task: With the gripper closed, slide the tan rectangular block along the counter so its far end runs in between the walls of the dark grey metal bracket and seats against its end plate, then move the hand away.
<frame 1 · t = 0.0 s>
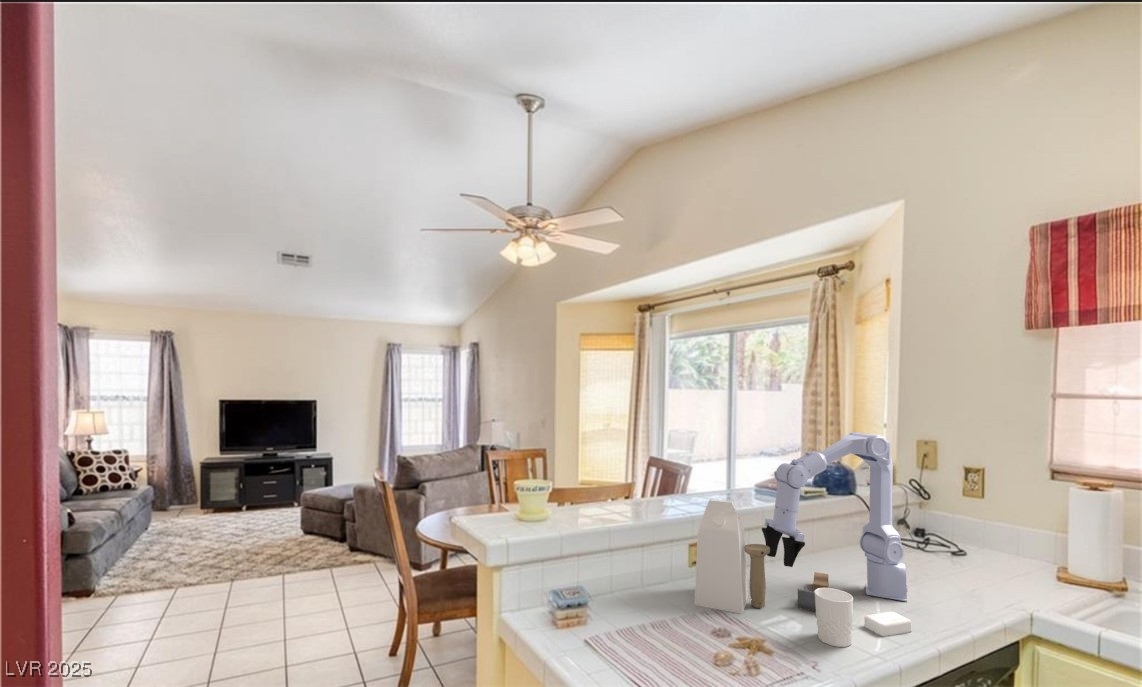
hand: (779, 561, 139), 11 cm above the worktop, tool pointing down, fingers open, 7 cm apart
white cup: (834, 640, 119), on the worktop
handle: (757, 607, 136), on the worktop
bracket: (819, 606, 136), on the worktop
soap: (887, 631, 124), on the worktop
tan rectangular block: (821, 592, 146), on the worktop
milk: (721, 601, 139), on the worktop
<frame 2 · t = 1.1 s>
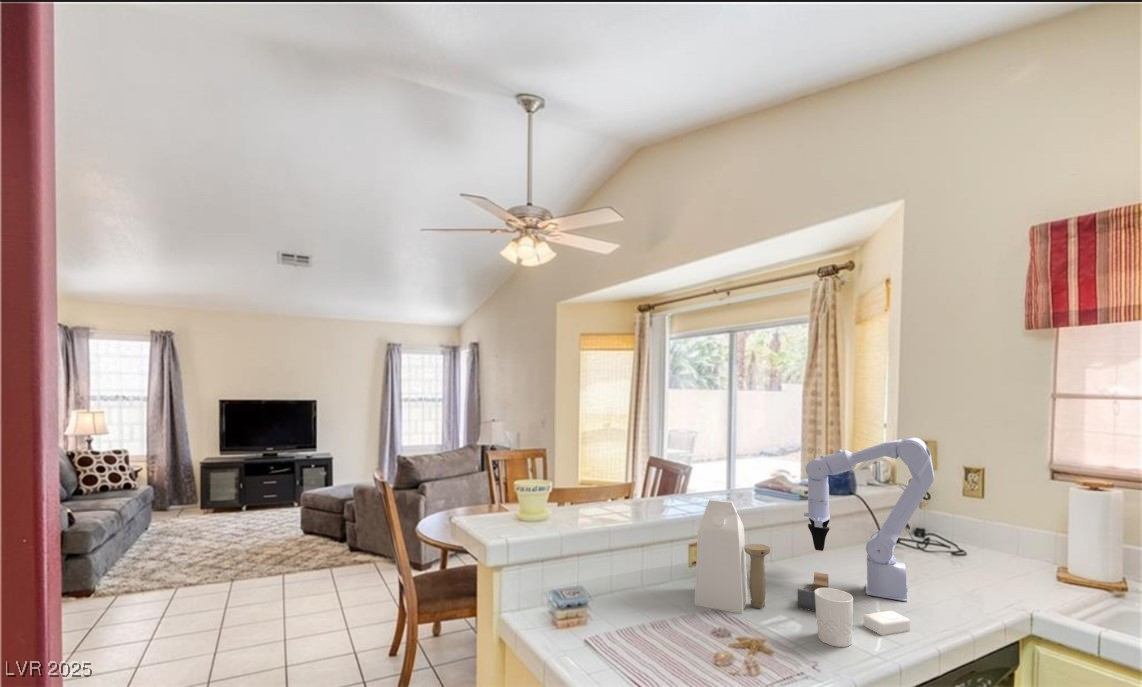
hand: (819, 546, 155), 10 cm above the worktop, tool pointing down, fingers open, 7 cm apart
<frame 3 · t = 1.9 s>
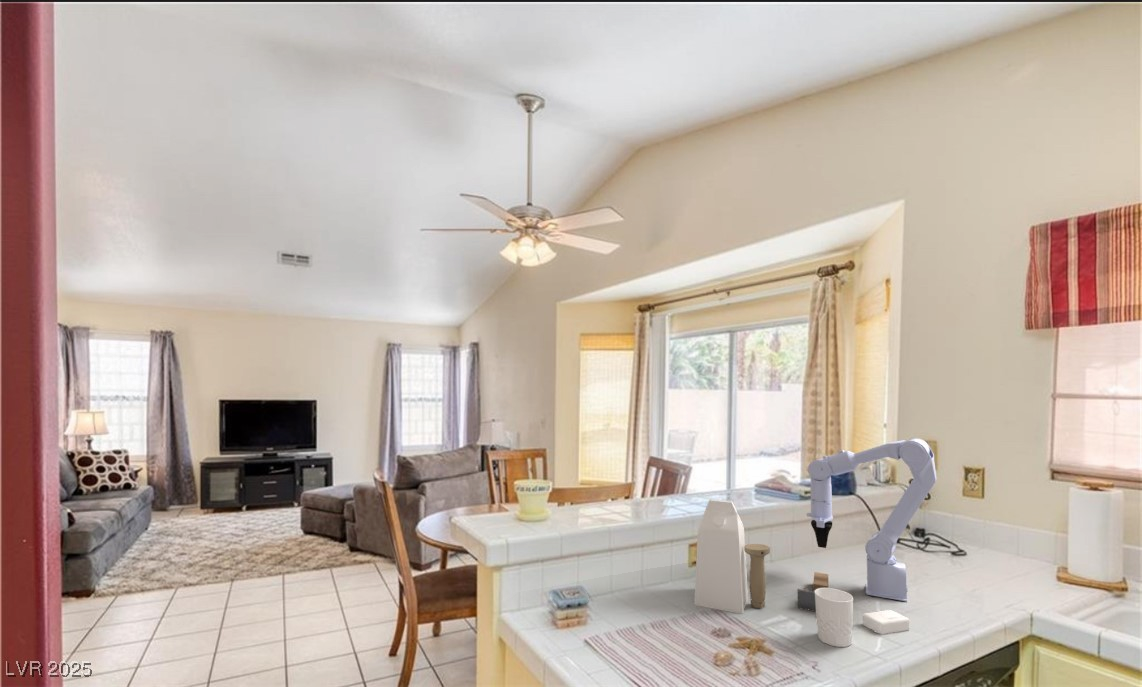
hand: (822, 546, 155), 9 cm above the worktop, tool pointing down, fingers closed
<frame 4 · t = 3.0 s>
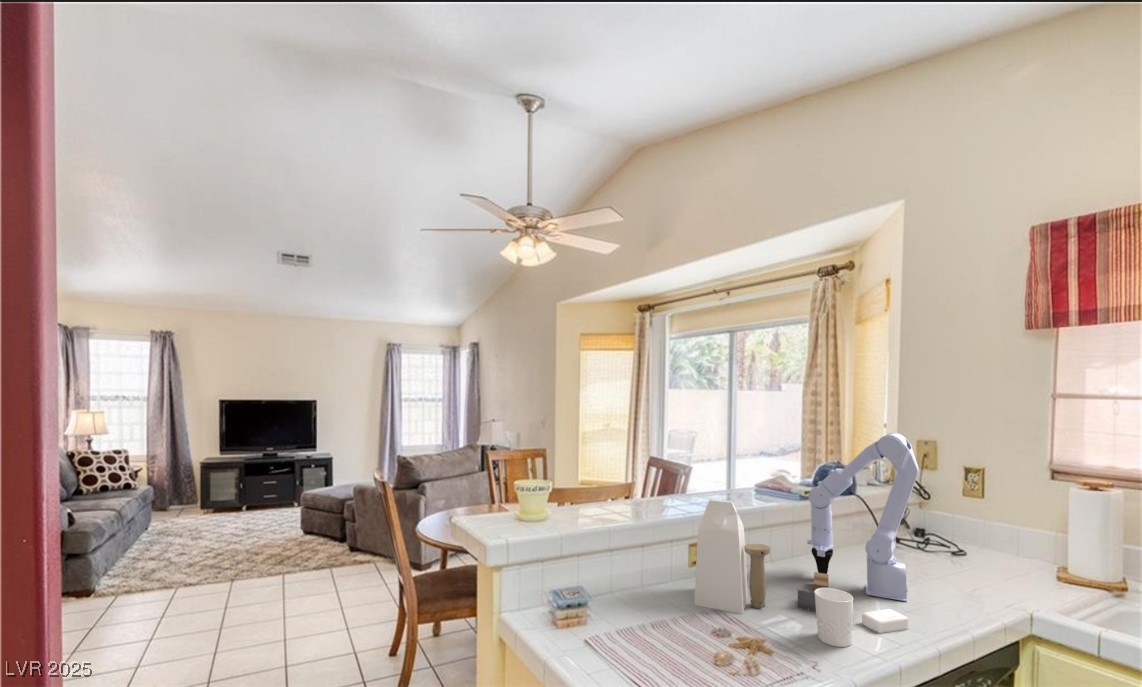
hand: (822, 574, 155), 1 cm above the worktop, tool pointing down, fingers closed
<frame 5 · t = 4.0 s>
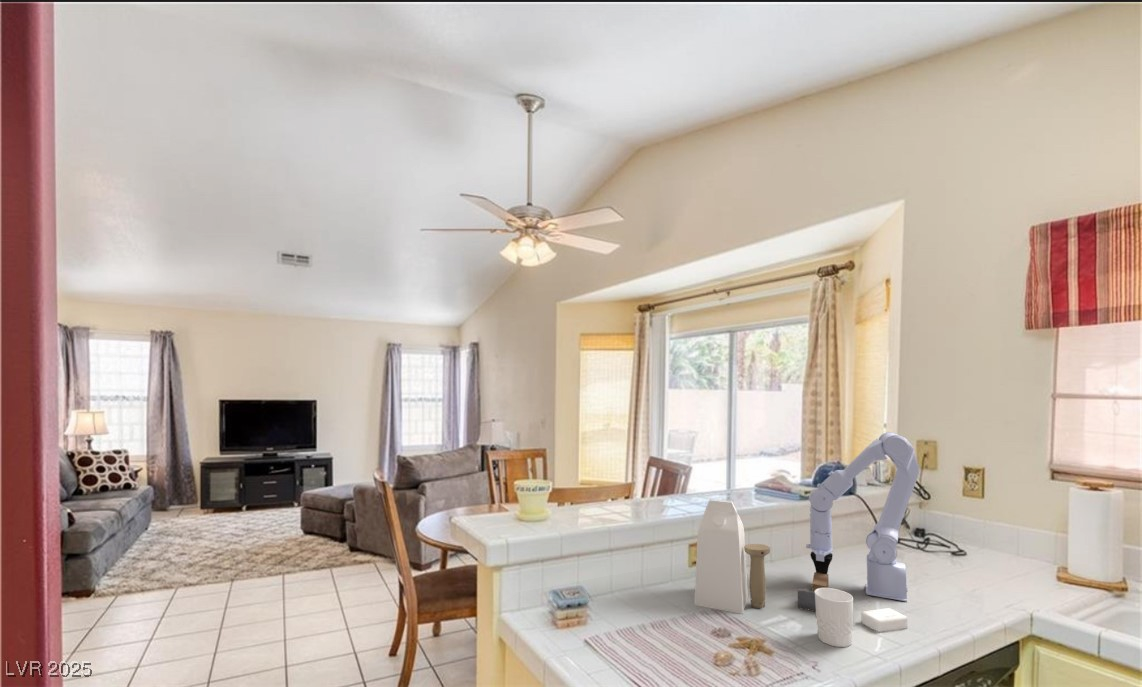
hand: (822, 579, 151), 1 cm above the worktop, tool pointing down, fingers closed
tan rectangular block: (820, 592, 145), on the worktop, touching gripper
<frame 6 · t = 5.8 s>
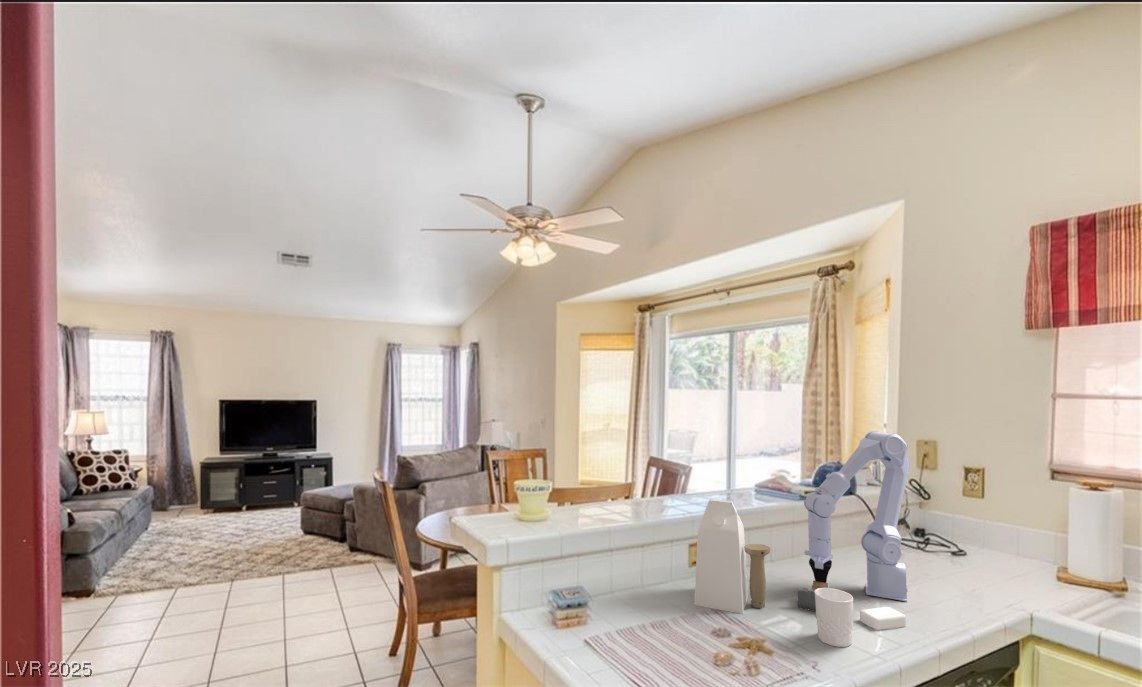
hand: (820, 587, 145), 1 cm above the worktop, tool pointing down, fingers closed
tan rectangular block: (819, 602, 139), on the worktop
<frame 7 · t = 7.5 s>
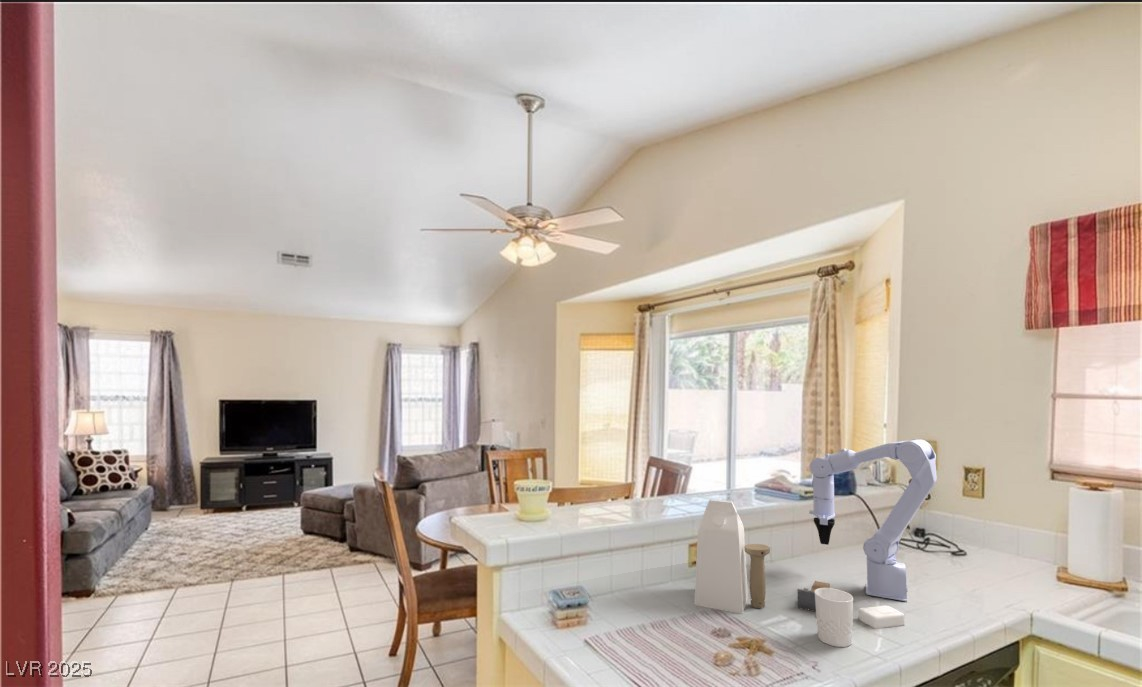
hand: (824, 543, 157), 10 cm above the worktop, tool pointing down, fingers closed
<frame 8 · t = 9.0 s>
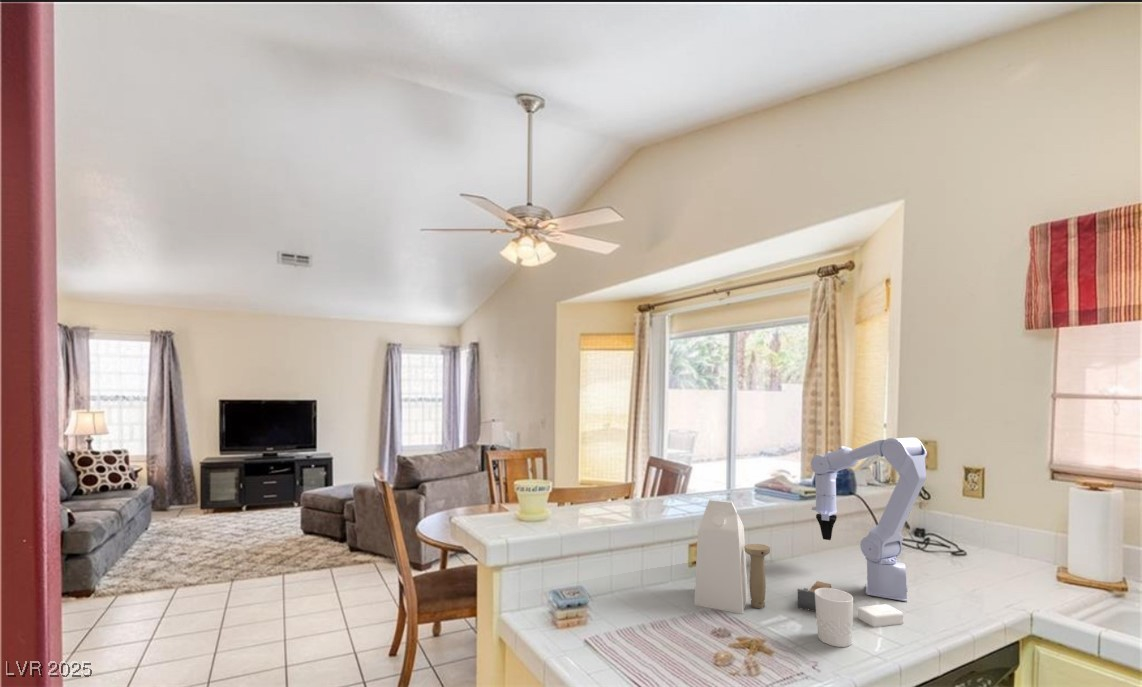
hand: (826, 539, 161), 10 cm above the worktop, tool pointing down, fingers closed
at the end: tan rectangular block 0.2 cm from the target spot on the bracket, point 0.0 cm above the bracket's base; tan rectangular block tilted 0°; tan rectangular block moved 7.5 cm from its start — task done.
